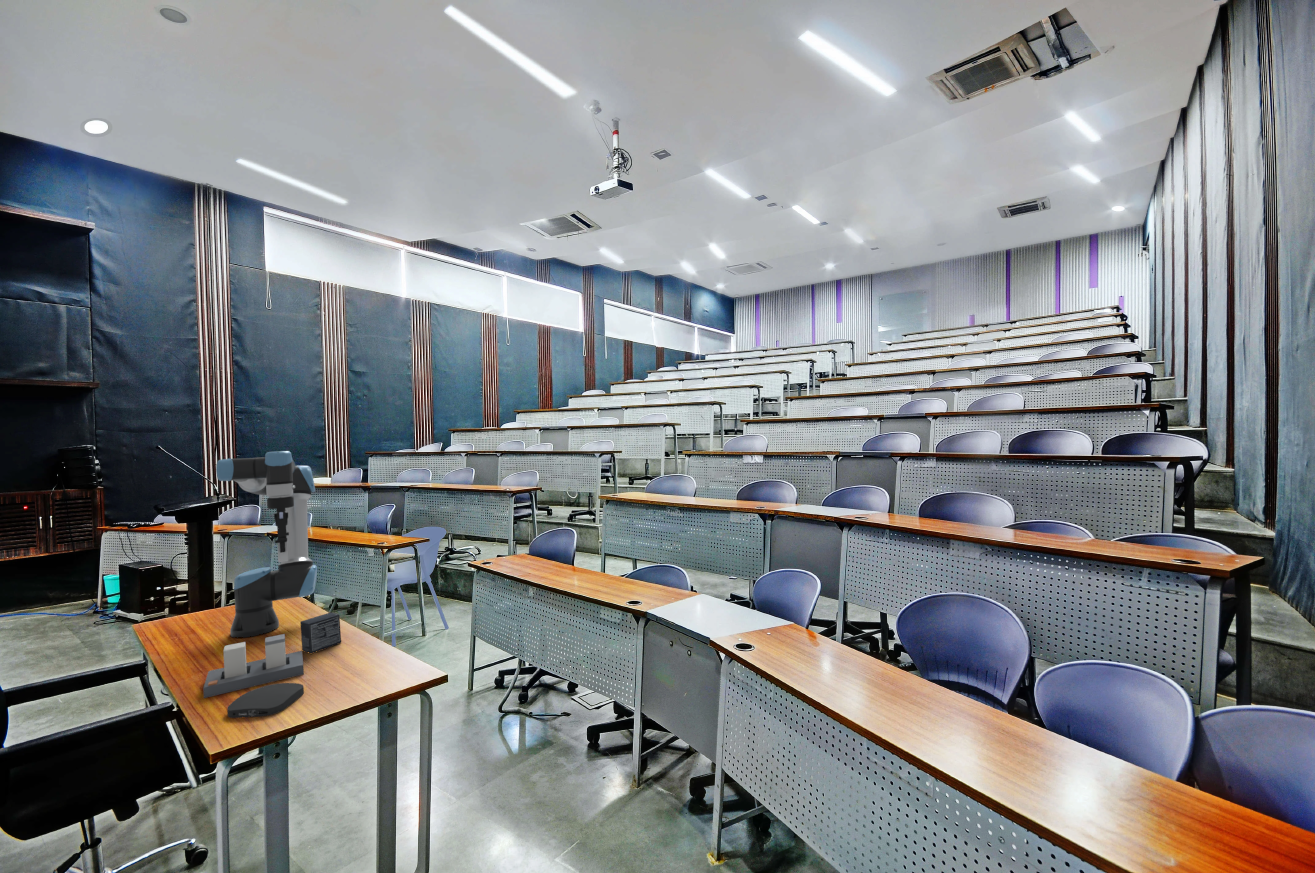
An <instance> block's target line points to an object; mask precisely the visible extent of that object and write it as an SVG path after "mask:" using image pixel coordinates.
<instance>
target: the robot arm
mask: <svg viewBox="0 0 1315 873" xmlns="http://www.w3.org/2000/svg"><path fill="white" fill-rule="evenodd" d="M292 456H293V455H292V452H290V450H280V451H267V452H266V453H265V455H264V457H263V456H262V457H247V458H246V457H245V458H242V457H241V458H240V457H239V458H226V459H225V458H223V459H218V460H217V462H216V465H215V469H216V470H215V474H216V478H217V480H218V481H220V482H230V481H231V482H233V481H234V482H236V483H237V484H238V486H239V487H240V488H241V489H242V490H243V491H245V492H246V493H247V492H248V493H251V494H255V495H258V496H259V495H260V496H266V497H267V498H266V508H267V509H269V510H275V512H276V513H274V514H273V517H274V518H273V520H274V522H275V526H276V528H277V531H276V532H277V539H276V540H274V543H275V544H277V560H278V563H279V564H278V565H277V568H278V569H277V570H272V568H271V567H269V566H266V567H259V568H256V569H254V568H253V569H250V570H247V571H245V572H242V573H240V574H238V575H236V576H235V577H234V581H233V583H234V585H233V591H234V593H233V594H234V608H235V611H234V612H235V613H234V618H233V621H232V624H231V626H230V637H231V638H235V637H237V639H238V637H243V638H251V637H256V636H260V635H259V634H261V635H263V633H264V634H267V633H270V632H272V630H273V631H275V630H277V629H278V628H279V626H280V621H279V617H278V615H277V613H276V611H275V609H274V607H273V602H275V601H283V600H290V599H296V598H301V597H307V596H310V595H312V594H313V593H314V592H315V588H316V585H317V584H316V583H317V577H318V575H317V574H318V566H317V565H316V564H313V563H314V562H313V560H312V559H311V558H309V532H308V531H309V530H308V528H309V526H308V524H309V523H308V500H310V499H311V498H312V493H315V492H316V486H315V481H314V477H313V471H312V468H311V467H310V465H298V464H297V465H296V463H295V461H294V459H293V457H292ZM274 629H275V630H274ZM250 636H251V637H250Z"/></svg>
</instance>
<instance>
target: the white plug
mask: <svg viewBox="0 0 1315 873" xmlns="http://www.w3.org/2000/svg"><path fill="white" fill-rule="evenodd" d="M264 646H265V648H264V650H265V651H264V652H265V653H264V654H265V659H266V669H270V668H274V667H279V666H283V665H286V654H287V653H286V652H287V651H286V635H285V633H283V634H278V635H273V636H268V637H265V639H264Z"/></svg>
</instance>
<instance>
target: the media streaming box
mask: <svg viewBox="0 0 1315 873" xmlns="http://www.w3.org/2000/svg"><path fill="white" fill-rule="evenodd" d="M304 693H305V688H304V685H303V684H301V683H297V682H281V683H273V684H267V685H264V686H261V687H258V688H254V689H251V690H249V691H247V692H245V693H243V694H241V695H240V696H239V697H237V698H236V699H235V700H233V701H232V702H231V703H230V704H229V705H228V706H227V709H226V710H227V717H228V718H230V719H241V718H242V717H245V718H257V717H258V718H259V717H260V718H261V717H267V716H268V717H269V716H272V715H276V714H278V713H281V712H283V711H284V710H286V709H287V708H288V707H290V706H291V705H293V703H295V702H296V701H297V700H298V699H300V698H301V697H302V696H303V695H304Z"/></svg>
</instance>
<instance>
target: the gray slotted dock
mask: <svg viewBox="0 0 1315 873" xmlns="http://www.w3.org/2000/svg"><path fill="white" fill-rule="evenodd" d="M246 646H247V645H246V641H243V642H238V643H232V644H228V645H224V648H223V667H220V668H217V669H211V670H208V671H207V675H206V679H205V682H204V684H203V687H202V688H203V699H206V698H210V697H215V696H218V695H222V694H227V693H231V692H236V691H239V690H244V689H248V688H251V687H252V688H253V687H257V686H259V685H265V684H268V683H274V682H277V681H281V680H285V679H290V678H294V677H298V676H303V675H304V674H305V671H304V659H303V651H302V650H299V651H294V652H290V653H286V665H283V666H279V667H274V668H270V669H266V658H263V659H262V658H261V659H257V660H254V661H248V662H247V650H246V648H247V647H246Z"/></svg>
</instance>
